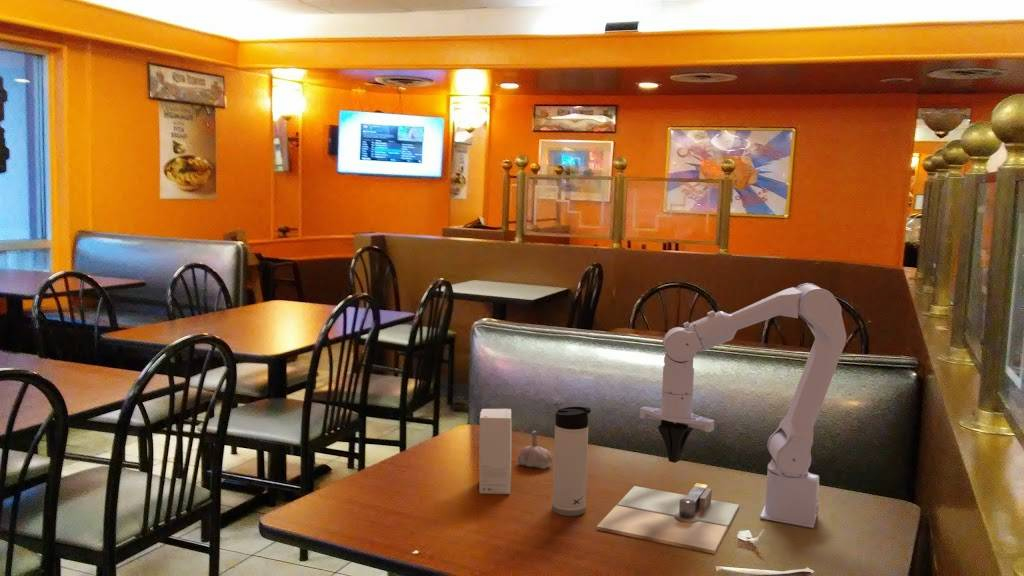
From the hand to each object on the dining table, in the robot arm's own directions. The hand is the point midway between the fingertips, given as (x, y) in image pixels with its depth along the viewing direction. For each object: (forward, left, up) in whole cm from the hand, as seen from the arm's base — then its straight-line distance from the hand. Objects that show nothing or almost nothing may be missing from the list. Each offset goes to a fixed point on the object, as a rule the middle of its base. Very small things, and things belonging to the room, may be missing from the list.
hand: (674, 460), depth 156 cm
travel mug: (+17, +10, -10) cm, 22 cm away
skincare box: (+35, +6, -10) cm, 37 cm away
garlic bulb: (+33, -10, -10) cm, 36 cm away
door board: (-1, +5, -9) cm, 11 cm away
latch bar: (-4, 0, -8) cm, 9 cm away
